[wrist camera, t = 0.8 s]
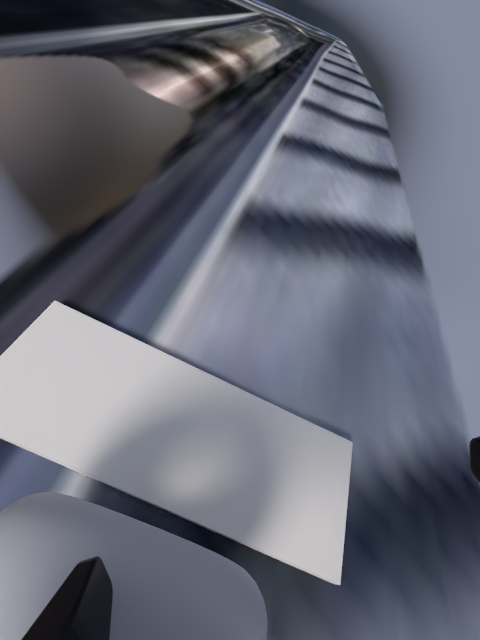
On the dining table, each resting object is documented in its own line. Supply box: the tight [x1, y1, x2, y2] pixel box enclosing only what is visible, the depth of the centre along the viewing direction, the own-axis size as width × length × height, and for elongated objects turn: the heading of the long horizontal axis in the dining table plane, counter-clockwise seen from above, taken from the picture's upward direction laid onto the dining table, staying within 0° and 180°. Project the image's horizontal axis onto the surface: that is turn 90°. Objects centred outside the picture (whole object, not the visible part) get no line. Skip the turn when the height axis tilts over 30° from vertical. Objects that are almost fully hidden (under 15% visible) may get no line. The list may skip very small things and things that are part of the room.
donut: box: [0, 492, 268, 640], centre depth 11 cm, size 10×4×10 cm, turn 71°
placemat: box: [0, 301, 353, 585], centre depth 19 cm, size 8×22×1 cm, turn 70°
